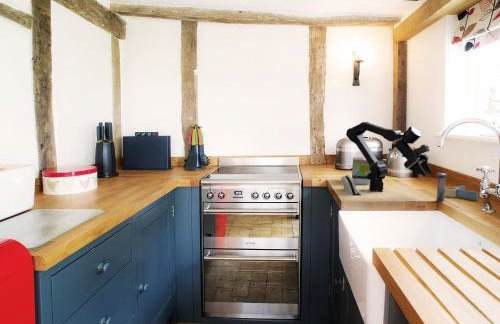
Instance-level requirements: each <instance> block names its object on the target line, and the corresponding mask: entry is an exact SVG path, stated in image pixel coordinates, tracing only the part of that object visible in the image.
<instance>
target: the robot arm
mask: <svg viewBox="0 0 500 324" xmlns="http://www.w3.org/2000/svg"><path fill="white" fill-rule="evenodd" d="M365 132H370V133H373V134H376V135H378V136H381V137H382V138H383V139H385V141H386V140H387V141H388V142H394V143H391V150H395V149H396V150H397V151H398V152H399V153H400V154H401V157H402V158H405V159H406V160H405V162H403V166H404V168H406V169H408V170H410V171H413V172H414V173H417V174H419V175H421V176H423V177H426V176H427V173H429V174H430V175H431V174H433V171H432V169H431V167H430V165H429V156H428V155H427V154H426V153H428V152H430V147H429V146H428V145H426V144H422V145H420V147H413V146H411V145H413V144H415V143H416V142H417V141H418V140H419V139H420V138H421V137H422V136H423V135H422V132H421V131H420V130H418V129H417V128H415V127H414V126H409V127H408V128H407V130H406V131H404V132H402V131H401V130H399V129H393V128H385V127H383V126H379V125H377V124H374V123H371V122H369V121H362V122H360V123H359V124H356V125H355V126H353V127H349V128H348V129H347V130H346V133H345V136H346V137H347V139H349V141H350V142H352V143H353V144H355V145H356V147H357V148H358V150H359V151H360V153H361V154H362V156H363V158H365V159H366V160H367V162H368V163H369V168H370V173H369V174H368V175H367V179H369V185H368V186H369V187H368V190H369V192H383V191H384V182H383V180H384V179H385V178H386V176H387V174H388V172H389V170H388V166H387V165H386V163H385V162H384V160H378V159H377V157H376V156H375V154H374V153H373V151H372V149H371V147H369V145H368V144H367V142H366V141H365V140H364V133H365Z"/></svg>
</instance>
